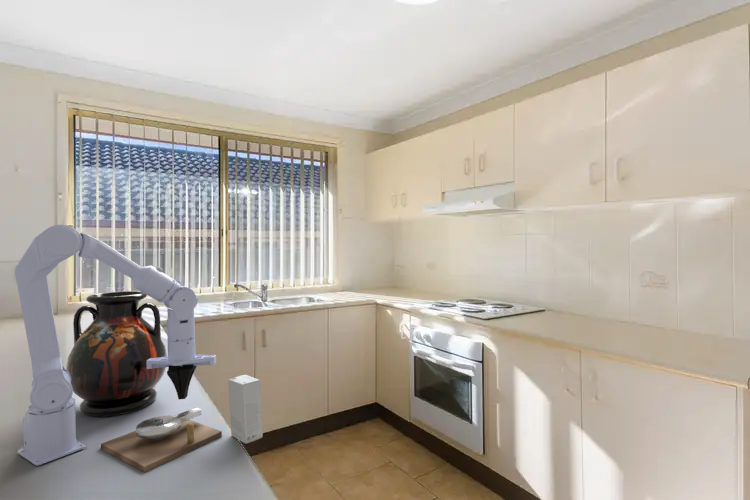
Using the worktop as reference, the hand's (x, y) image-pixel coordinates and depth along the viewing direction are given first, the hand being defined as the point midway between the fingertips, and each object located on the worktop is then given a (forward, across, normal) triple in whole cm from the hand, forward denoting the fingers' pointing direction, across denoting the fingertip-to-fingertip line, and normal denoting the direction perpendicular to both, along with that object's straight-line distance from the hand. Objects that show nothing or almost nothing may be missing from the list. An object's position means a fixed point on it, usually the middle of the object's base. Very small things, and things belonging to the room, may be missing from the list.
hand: (182, 397), depth 95 cm
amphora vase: (+5, -19, +12) cm, 23 cm away
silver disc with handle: (+2, 0, -9) cm, 9 cm away
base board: (+5, -1, -11) cm, 12 cm away
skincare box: (+5, +16, -11) cm, 20 cm away
